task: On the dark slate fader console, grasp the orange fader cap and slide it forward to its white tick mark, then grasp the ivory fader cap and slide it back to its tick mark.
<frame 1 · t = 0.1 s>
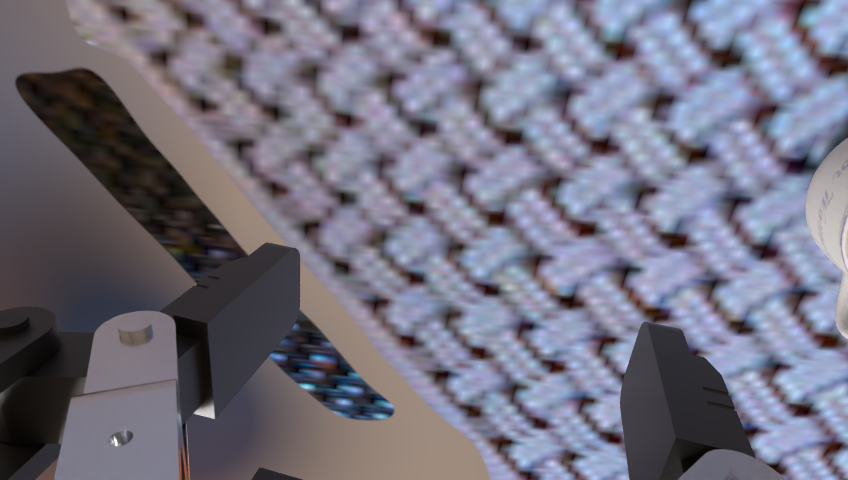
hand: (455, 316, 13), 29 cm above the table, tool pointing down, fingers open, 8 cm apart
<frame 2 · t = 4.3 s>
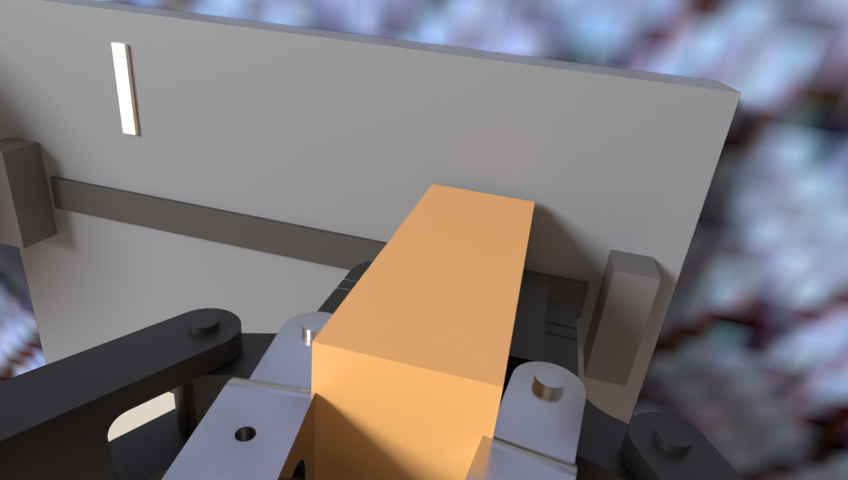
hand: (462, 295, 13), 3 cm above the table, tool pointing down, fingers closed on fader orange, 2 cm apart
console: (321, 334, 19), on the table
fader orange: (440, 361, 11), point 6 cm above the table, slide at -5.0 cm, touching gripper
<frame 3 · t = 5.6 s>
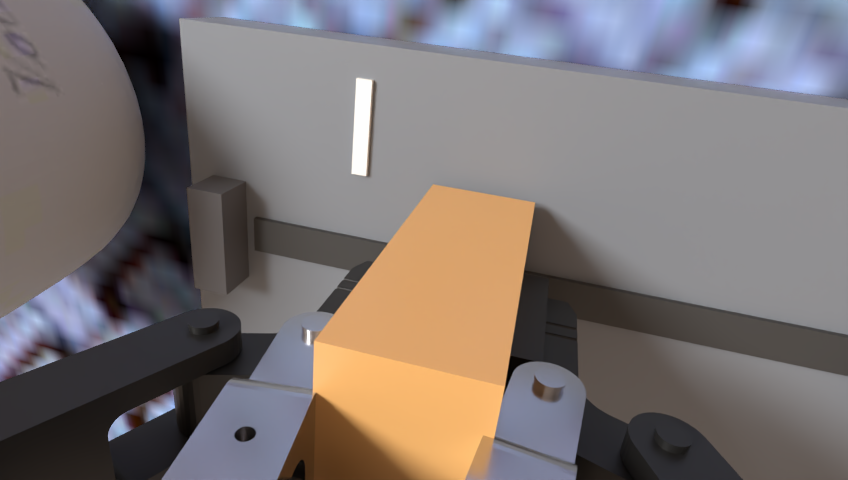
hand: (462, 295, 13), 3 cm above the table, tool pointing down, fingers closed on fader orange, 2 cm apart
console: (513, 380, 18), on the table
fader orange: (441, 361, 11), point 6 cm above the table, slide at 1.7 cm, touching gripper
teacup: (18, 84, 18), on the table
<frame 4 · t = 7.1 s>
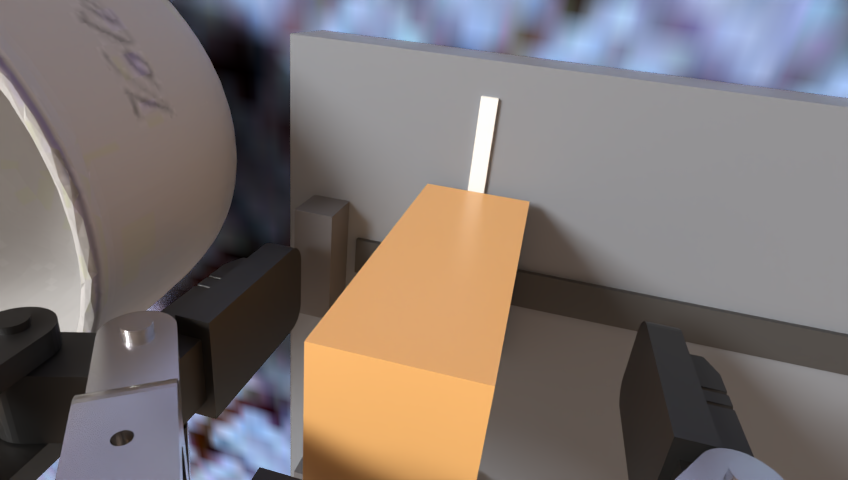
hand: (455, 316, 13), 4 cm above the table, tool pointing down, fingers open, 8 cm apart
console: (609, 402, 17), on the table
fader orange: (434, 361, 11), point 6 cm above the table, slide at 4.9 cm
teacup: (93, 98, 18), on the table, touching gripper
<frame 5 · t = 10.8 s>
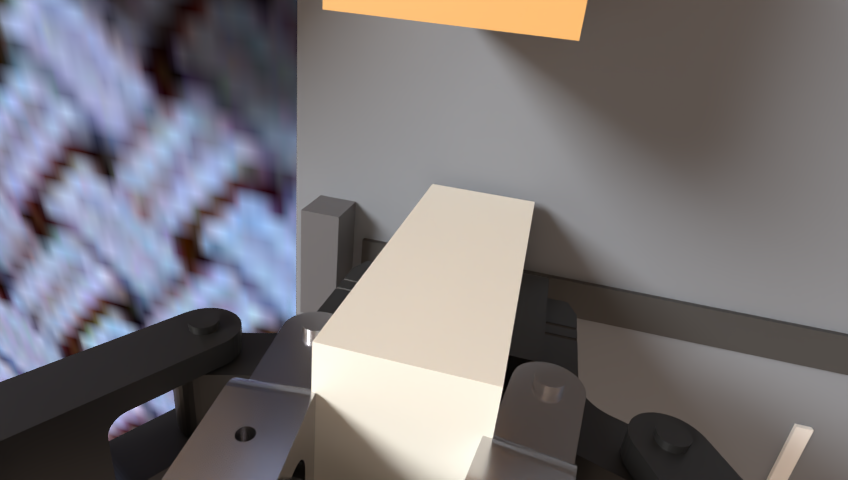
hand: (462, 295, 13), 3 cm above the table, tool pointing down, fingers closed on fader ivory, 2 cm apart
console: (704, 122, 14), on the table
fader ivory: (440, 361, 11), point 6 cm above the table, slide at 5.0 cm, touching gripper
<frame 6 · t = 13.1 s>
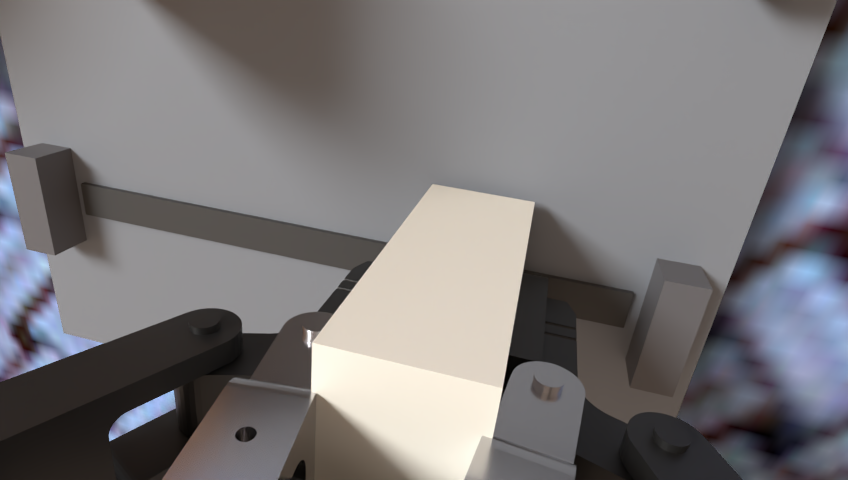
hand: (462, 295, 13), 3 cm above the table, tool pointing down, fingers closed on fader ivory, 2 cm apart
console: (365, 73, 15), on the table
fader ivory: (440, 362, 11), point 6 cm above the table, slide at -3.9 cm, touching gripper
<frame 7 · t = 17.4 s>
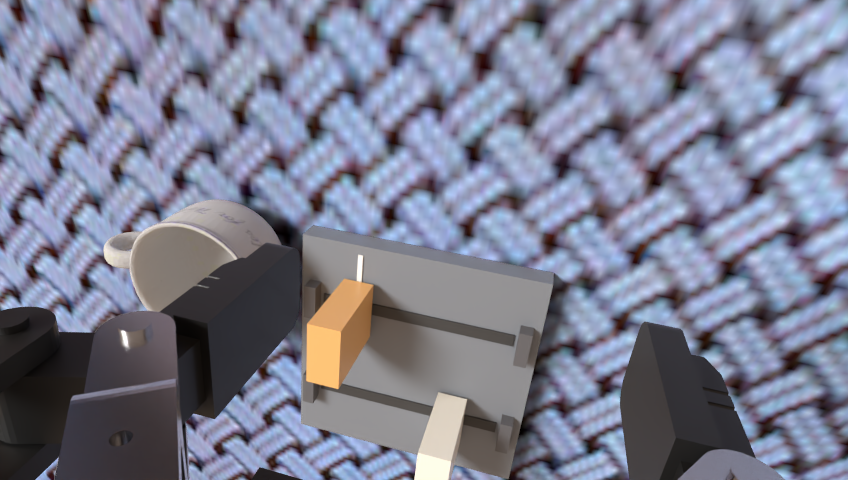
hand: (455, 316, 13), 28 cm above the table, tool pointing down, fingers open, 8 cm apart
console: (416, 349, 48), on the table
fader orange: (341, 330, 42), point 6 cm above the table, slide at 4.9 cm
teacup: (230, 238, 48), on the table
fader ivory: (440, 447, 44), point 6 cm above the table, slide at -4.0 cm
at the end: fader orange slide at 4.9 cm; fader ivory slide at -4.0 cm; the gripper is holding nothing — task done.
